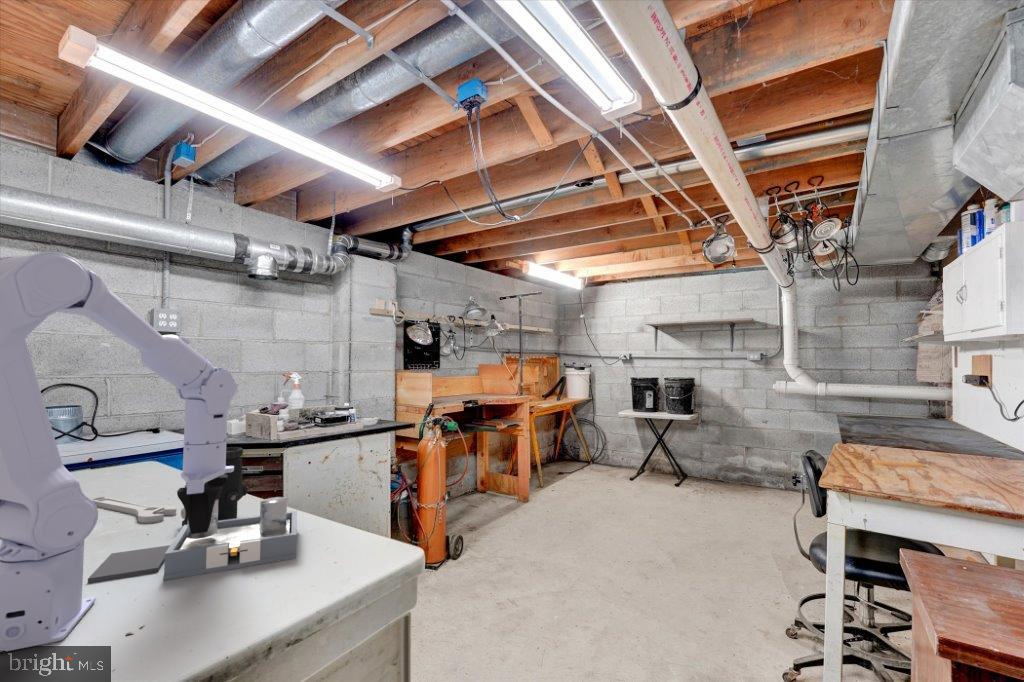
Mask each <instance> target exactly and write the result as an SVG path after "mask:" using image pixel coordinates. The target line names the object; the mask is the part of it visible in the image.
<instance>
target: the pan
mask: <svg viewBox="0 0 1024 682" xmlns="http://www.w3.org/2000/svg"><path fill="white" fill-rule="evenodd" d="M289 532H290V519H287V522H286V530H285V531H284V532H281V533H279V534H274V535H262V534H260V523H254V524H247V525H239V526H232V527H224V528H217V533H216V534H214V535H212V536H209V537H205V538H199V539H190V538H186V540H185V542H184V543H183V545H182V546H181V548H180V549H187V548H194V547H201V546H208V545H215V544H222V543H228V542H229V553H231V556H235V555H237V553H238V552H240V541H242V540H249V539H256V538H263V537H270V536H277V535H284V534H289Z"/></svg>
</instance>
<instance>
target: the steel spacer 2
mask: <svg viewBox="0 0 1024 682" xmlns="http://www.w3.org/2000/svg"><path fill="white" fill-rule="evenodd" d="M259 507H260V509H259V516H260V534H262V535H274V534H279V533H281V532H284V531H285V530H286V522H287V512H288V509H287V508H288V498H286V497H285V496H284V497H282V496H275V497H268V498H265V499H262V500H261V501H260V505H259Z"/></svg>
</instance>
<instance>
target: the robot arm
mask: <svg viewBox="0 0 1024 682" xmlns="http://www.w3.org/2000/svg"><path fill="white" fill-rule="evenodd" d="M56 313H61V314H62V313H63V314H71V315H78V316H84V317H86V318H88V319H89V320H90V321H92V322H94V323H96V324H97V325H99V326H100V327H101V328H104V329H105V330H106V331H108V332H109V333H111V334H112V335H114V336H116V337H118V338H119V339H121V340H122V341H124V342H125V343H127V344H128V345H130V346H131V347H133V348H135V349H136V350H138V351H139V352H140V353H139V354H140V362H141V364H142V365H143V366H144V367H146V368H148V370H150V371H152V372H153V373H155V374H156V375H158V376H159V377H161V378H162V379H164V380H165V381H166V382H168V383H169V384H171V385H172V386H173V387H175V391H176V394H177V396H178V397H179V399H181V400H184V401H185V402H184V423H183V424H184V428H183V429H184V430H183V450H182V451H183V454H182V456H183V457H182V471H181V472H180V478H182V479H183V481H184V482H185V485H187V487H185V486H184V487H179V489H178V490H177V491H176V494H177V498H178V500H180V502H181V503H182V506H183V508H185V510H186V514H187V518H188V523H189V527H190V531H191V534H197V533H204V532H207V531H208V529H209V526H210V522H211V517H212V512H213V507H214V504H215V501H216V499H219V496H220V493H221V490H222V487H223V485H224V483H225V481H226V480H227V478H228V475H226V474H225V473H230V472H233V471H234V466H226V447H227V441H228V440H227V436H228V435H227V431H228V412H229V410H230V409H231V401H232V400H233V398H234V397H235V395H236V392H238V391H237V390H238V386H239V385H238V383H235V379H234V377H233V375H232V374H231V372H230V371H229V370H227V369H225V368H222V367H214V365H213V360H212V359H210V358H209V357H204V356H203V355H202V354H200V353H199V352H198V351H196V350H195V349H194V348H193V347H191V346H190V345H189V344H190V342H191V341H190V340H189V339H188V338H187V337H185V336H178V335H175V334H163V335H162V334H161V333H160V332H159V331H158V330H157V329H156V328H154V327H153V326H152V325H151V324H149V322H147V321H146V320H145V319H144V318H143V317H142V316H141V315H139V314H138V313H137V312H136V311H134V310H133V309H132V308H131V307H130V306H129V305H128V304H127V303H126V302H125V301H123V300H122V299H121V298H120V297H119V296H118V295H116V294H115V293H114V292H113V291H112V290H111V289H109V287H108V286H107V285H106V283H105V282H104V281H103V279H102V278H101V276H100V275H98V274H96V272H93V271H92V270H89V269H88V270H87V269H86V267H85V266H84V265H83V263H82V262H81V261H79V260H77V259H76V258H75V257H73V256H70V255H69V254H66V253H63V252H57V251H42V252H37V253H35V254H31V255H30V254H29V255H22V256H4V257H3V256H2V257H0V540H1V544H0V650H5V651H6V652H10V651H15V650H20V649H25V648H30V647H36V646H40V645H46V644H51V643H56V642H59V641H62V640H64V639H65V638H66V637H67V636H68V634H69V633H70V632H71V631H72V630H73V628H75V626H76V624H77V623H78V622H79V621H80V620H81V619H82V617H83V616H84V615H85V614H86V612H87V611H88V610H89V609H90V608H91V607H92V605H93V604H94V603H95V601H96V600H97V599H96V598H97V597H95V596H91V597H85V598H84V597H83V585H84V584H83V583H84V581H83V579H84V560H85V559H84V557H85V556H84V555H85V554H84V553H85V540H86V539H87V538H88V536H89V535H90V534H92V531H93V530H94V528H95V526H96V525H97V522H98V519H99V509H98V507H97V506H96V504H95V503H94V502H93V501H92V500H91V499H92V498H90V497H88V496H86V494H84V491H82V488H81V485H80V481H78V479H77V477H75V476H74V475H73V474H72V473H71V472H70V471H69V470H68V469H67V468H66V466H65V465H64V464H63V462H62V458H61V455H60V451H59V447H58V446H57V442H56V439H55V435H54V431H53V428H52V426H51V425H52V424H51V421H50V419H49V418H50V417H49V415H48V412H47V408H46V405H45V402H44V398H43V395H42V392H41V388H40V384H39V381H38V378H37V375H36V372H35V369H34V365H33V362H32V361H33V360H32V357H31V354H30V352H29V348H28V345H27V342H26V338H27V337H28V336H29V335H30V334H31V333H32V332H33V331H34V330H35V329H36V328H37V327H39V326H40V325H41V324H42V323H43V322H44V321H45V320H47V318H48V317H50V316H52V315H54V314H56Z"/></svg>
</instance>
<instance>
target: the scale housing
mask: <svg viewBox="0 0 1024 682" xmlns="http://www.w3.org/2000/svg"><path fill="white" fill-rule="evenodd" d="M297 517H298V511H297V510H294V511H293V510H292V511H287V519H290V532H289V534H284V535H277V536H270V537H263V538H256V539H249V540H242V541H240V552H238V553H237V555H235V556H231V553H229V542H228V543H222V544H215V545H208V546H201V547H194V548H187V549H180V548H181V546H182V545H183V543H184V542H185V540H186V538H187V525H184V526H183V527H182V526H181V529H180V531H178V533H177V534H176V536H175V538H174V539H173V540H172V542H171V543H170V544H169V545H170V547H169V548H168V550H167V551H166V553H165V561H164V563H163V565H164V567H163V576H162V577H163V578H162V581H167V580H173V579H179V578H185V577H191V576H197V575H202V574H204V575H205V574H211V573H216V572H221V571H227V570H232V569H233V570H234V569H238V568H239V569H240V568H246V567H251V566H257V565H262V564H269V563H276V562H281V561H286V560H287V561H288V560H293V559H297V544H298V543H297V540H298V539H297V536H298V533H297V531H298V528H297V527H298V525H297V524H298V523H297V521H298V520H297V519H298V518H297ZM254 523H260V515H254V516H253V515H251V516H245V517H239V518H238V517H237V518H236V519H228V520H220V521H218V526H217V528H224V527H232V526H239V525H247V524H254Z"/></svg>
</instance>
